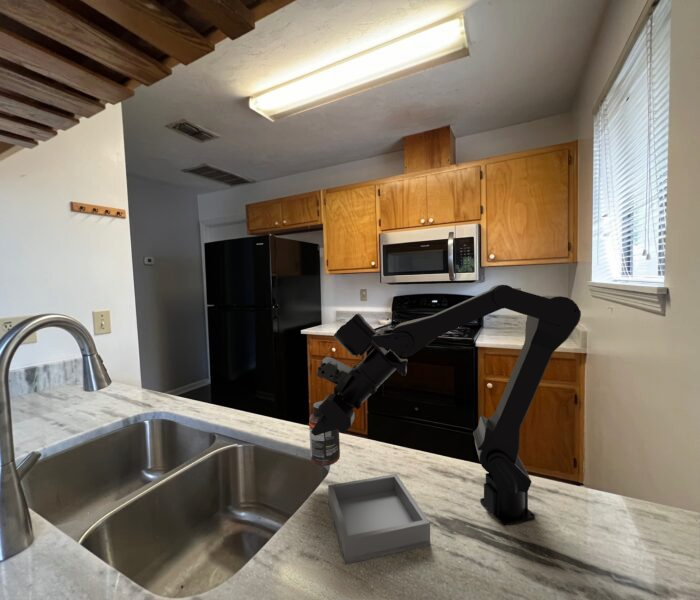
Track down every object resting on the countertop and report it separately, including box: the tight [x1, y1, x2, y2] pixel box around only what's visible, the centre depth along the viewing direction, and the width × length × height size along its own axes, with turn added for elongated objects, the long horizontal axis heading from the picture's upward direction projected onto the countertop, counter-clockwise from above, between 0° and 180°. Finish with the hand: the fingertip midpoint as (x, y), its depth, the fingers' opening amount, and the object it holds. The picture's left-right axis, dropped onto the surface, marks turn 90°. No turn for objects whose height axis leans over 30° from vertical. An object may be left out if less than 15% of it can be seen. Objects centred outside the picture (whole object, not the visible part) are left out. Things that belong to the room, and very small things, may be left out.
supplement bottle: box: [308, 400, 341, 467], centre depth 64 cm, size 6×6×11 cm
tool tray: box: [327, 473, 431, 565], centre depth 54 cm, size 14×14×4 cm
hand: (317, 426), depth 64 cm, fingers closed on supplement bottle, 6 cm apart
